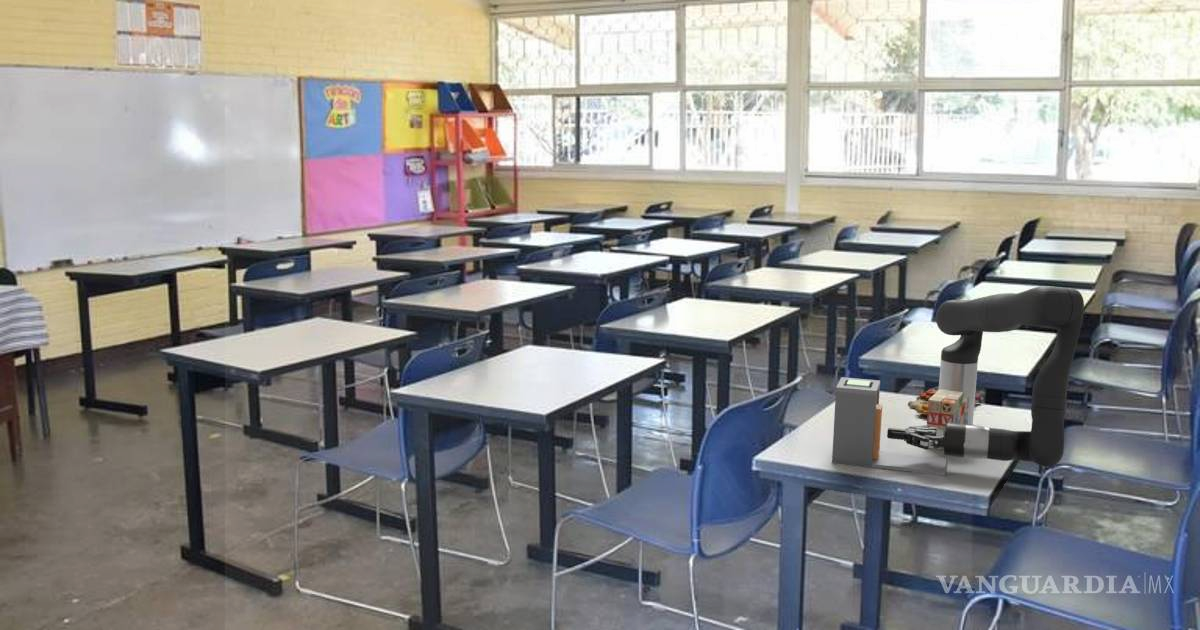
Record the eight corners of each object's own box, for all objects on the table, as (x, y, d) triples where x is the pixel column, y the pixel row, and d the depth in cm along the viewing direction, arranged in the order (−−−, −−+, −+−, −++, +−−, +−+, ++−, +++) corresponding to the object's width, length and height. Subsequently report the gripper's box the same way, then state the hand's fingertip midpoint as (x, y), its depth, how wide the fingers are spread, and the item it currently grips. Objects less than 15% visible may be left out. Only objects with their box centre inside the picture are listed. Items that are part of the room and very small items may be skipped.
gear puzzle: (951, 422, 275) (952, 408, 274) (892, 414, 284) (893, 399, 283) (985, 399, 299) (985, 385, 299) (929, 392, 309) (930, 378, 308)
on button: (847, 399, 244) (848, 379, 243) (869, 402, 242) (870, 381, 241) (845, 404, 239) (846, 383, 238) (867, 407, 238) (868, 385, 237)
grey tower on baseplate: (837, 449, 250) (841, 377, 247) (946, 461, 241) (951, 386, 238) (831, 462, 239) (836, 387, 236) (945, 475, 231) (951, 397, 228)
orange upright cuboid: (844, 450, 246) (847, 400, 244) (879, 454, 243) (882, 403, 241) (842, 455, 242) (845, 405, 239) (877, 459, 239) (881, 408, 237)
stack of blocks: (942, 427, 272) (946, 381, 270) (967, 430, 269) (971, 384, 267) (924, 447, 253) (928, 398, 251) (951, 451, 250) (954, 402, 248)
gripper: (967, 417, 239) (890, 410, 245) (967, 432, 227) (886, 424, 233) (965, 449, 241) (888, 440, 246) (965, 465, 228) (884, 456, 234)
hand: (887, 432), depth 240 cm, fingers closed
